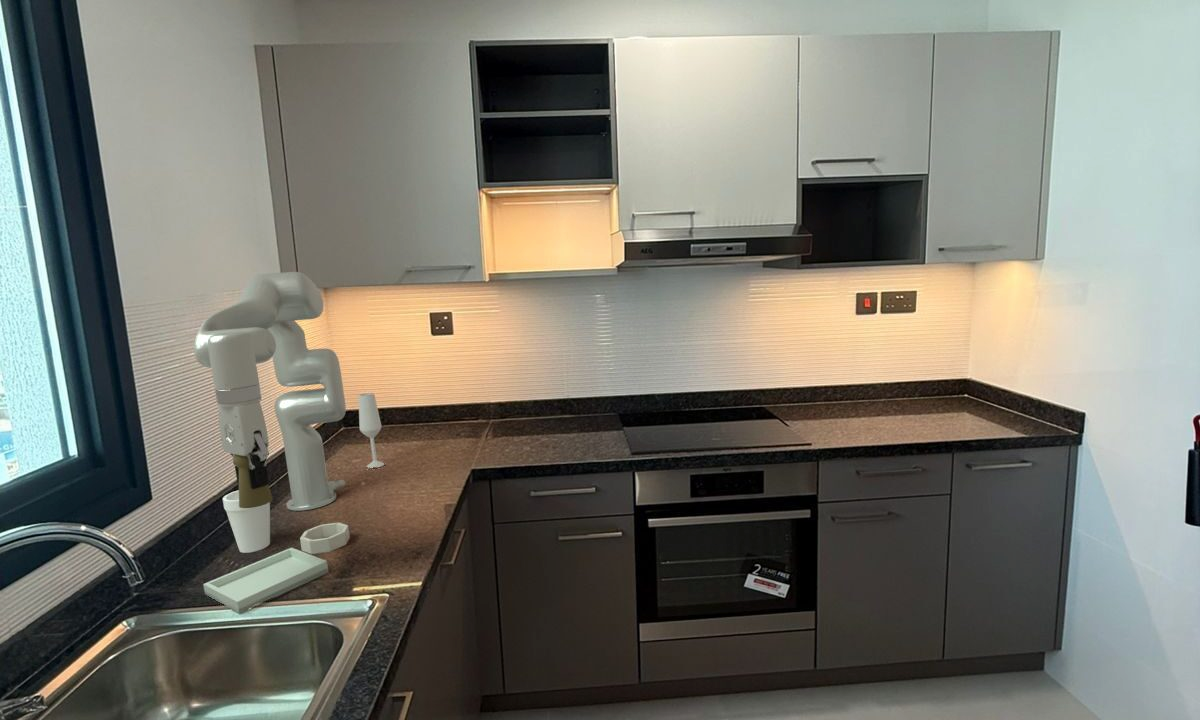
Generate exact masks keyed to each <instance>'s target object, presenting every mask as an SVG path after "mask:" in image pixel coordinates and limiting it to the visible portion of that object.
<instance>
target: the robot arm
mask: <svg viewBox="0 0 1200 720" xmlns="http://www.w3.org/2000/svg"><path fill="white" fill-rule="evenodd" d="M239 296H240V297H239V298H238V300H237V302H235V303H232V304H231V305H228V306H227V307H224V308H223V309H220V310H218V311H216V312H215V313H213V314H211V315H210V316H208V317H206V319H205V320H204V321H202V324H201V325H200V328H199V329H198V331H197V333H196V336H195V337H194V341H193V353H194V356H195V359H196V361H197V362H198V363H199V364H200V365H201V366H203V367H205V368H209V369H211V374H212V379H213V385H214V386H213V387H214V390H215V396H216V403H217V407H218V425H219V426H218V427H219V434H220V435H219V436H220V442H221V448H222V450H223V451H224V452H226V453H229V454H230V455H231V456H232V464H233V466H234V469H235V470H234V471H235V477H236V481H237V485H238V486H239V468H238V467H237V466H236V465H235V463H234V456H235V455H240V456H247V460H248V463H249V467H250V469H249V470H248V474H249V480H250V486H251V489H256V488H259V487H262V486H266V485H269V476H268V471H267V465H268V463H267V459H268V458H269V455H270V451H269V443H270V442H269V435H268V431H267V426H266V420H265V415H264V412H263V409H262V405H261V402H260V401H262V392H261V386H260V380H259V374H258V367H257V364H258V365H259V364H263V363H267V362H268V361H270V359H272V362H273V368H274V373H275V374H274V375H275V377H276V380H277V382H278V383H279V385H280V386H282V387H287V388H288V387H291V388H292V387H303V386H312V385H313V386H314V385H322V386H323V387H321V388H311V389H301V390H300V389H299V390H291V391H288V392H284V393H282V394H280V395H279V396H278V397H277V398H276V400H275V401H274V407H273V409H274V413H275V416H276V419H277V422H278V425H279V428H280V432H281V436H282V441H283V447H284V455H285V460H286V461H285V462H286V468H287V473H288V482H289V487H290V495H291V498H290V499H289V500H288V501H286V508H287V509H288V510H291V511H296V512H297V511H299V512H300V511H308V510H314V509H317V508H321V507H325V506H326V505H327V506H328V505H329V504H331V503H332V502H334V501H335V500H336V499H337V493H336V492H335V490H336V489H340V488H342V487H345V485H346V481H345V480H344V479H340V480H337V481H335V480H331V481H329V480H328V478H329V477H328V473H327V465H326V458H325V457H326V456H325V451H324V442H323V439H322V436H321V435H320V433H319V432H318V431H317V430H316V429H315V428H314V427H313V426H312V425H316V424H325V423H334V422H338V421H340V420H342V419H343V418H344V417H345V415H346V411H347V410H346V408H347V407H346V397H345V391H344V385H343V378H342V372H341V366H340V361H339V358H338V356H337V354H336V352H335V351H334V350H333V349H331V348H312V349H308V347H307V346H308V345H307V341H306V335H305V331H304V330H303V328H302V327H301V325H299V324H298V323H297V322H296V321H304V320H305V321H306V320H313V319H314V320H315V319H317V318H319V317H320V316H322V314H323V311H324V299H323V295H322V293H321V291H320V289H319V288H318V287H317V286H316V284H315V283H314V282H313V281H312V279H311V278H310V277H308V276H307V275H306V274H304V273H303V272H299V271H289V272H288V271H287V272H271V273H260V274H257V275H254V276H252V277H251V278H249V279H248V280H247V281H246V284H245V285H244V287H243V290H242V291H241V294H240V295H239ZM253 449H257V450H258V451H256V452H253V453H251V452H252V450H253ZM257 454H258V456H256V457H255V459H254V460H253V457H252V456H254V455H257Z"/></svg>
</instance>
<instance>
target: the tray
mask: <svg viewBox="0 0 1200 720" xmlns="http://www.w3.org/2000/svg"><path fill="white" fill-rule="evenodd" d="M328 565H329V564H328V561H327V560H325V559H323V558H320V557H318V556H315V555H313V554H310V553H307V552H305V551H302V550H299V549H296V548H294V547H290V548H287V549H285V550H282V551H280V552H278V553H274V554H273V555H270V556H268V557H266V558H263V559H260V560H258V561H256V562H254V563H251V564H248V565H246V566H244V567H241V568H239V569H236V570H234V571H231V572H230V573H226V574H224V575H222V576H219V577H217V578H215V579H212V580H209V581H207V582H206V583H203V590H204V596H205V595H207V596H209V597H211V598H212V599H215V600H216V601H218V602H220V603H222V604H224V605H226V606H228V607H230V608H231V609H232V610H231V611H232V612H234V613H236V614H238V615H241V614H244V613H246V612H247V611H249V610H248V609H249V608H250V607H252V606H253V605H255V604H257V603H260V602H263V601H266V600H268V599H271V598H273V599H275V598H277V597H279V596H281V595H283V594H285V593H288V592H290V591H292V590H294V589H297V588H298V587H301V586H302V585H304V584H307V583H309V582H311V581H313V580H315V579H317V578H319V577H321V576H325V575H326V574H328V573H329V566H328ZM274 597H275V598H274ZM212 599H211V600H212ZM271 600H272V599H271ZM216 601H215V602H216Z"/></svg>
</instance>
